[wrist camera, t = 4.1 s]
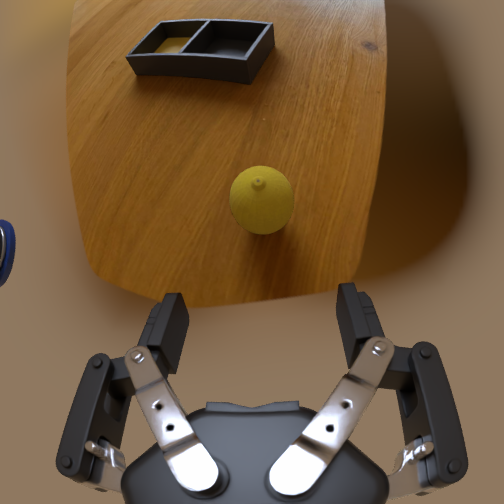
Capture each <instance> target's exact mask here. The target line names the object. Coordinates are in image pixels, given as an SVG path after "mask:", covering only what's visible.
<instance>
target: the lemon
mask: <svg viewBox="0 0 504 504" xmlns="http://www.w3.org/2000/svg"><path fill="white" fill-rule="evenodd" d="M229 200H230V208H231V212H232V215H233V216H234V218H235V220H236V221H237V223H238V224H239V225H241V226H242V227H243V228H244V229H246V230H247V231H249V232H251V233H255V234H270V233H274V232H276V231H278V230H280V229H281V228H282V227H283V226H284V225H286V223H287V222H288V220H289V219H290V217H291V215H292V212H293V209H294V195H293V191H292V187H291V186H290V184H289V182H288V180H287V179H286V178H285V177H284V176H283V174H282V173H280V172H279V171H277V170H275V169H274V168H271V167H268V166H255V167H251V168H249V169H246V170H245V171H243V172H242V173H240V174H239V176H238V177H237V178H236V179H235V181H234V182H233V184H232V187H231V190H230V195H229Z"/></svg>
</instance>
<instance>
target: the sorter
mask: <svg viewBox="0 0 504 504" xmlns="http://www.w3.org/2000/svg"><path fill="white" fill-rule="evenodd" d="M274 45H275V41H274V28H273V23H270V22H260V21H249V20H233V19H185V20H169V21H160V22H159V23H158V24H157V25H156V26H155V27H154V28H152V29H151V30H150V31H149V32H148V33H147V34H146V35H145V36H144V37H143V38H142V40H141V41H140V42H139V43H138V44H137V45H136V46H135V47H134V48H133V49H132V50H131V51H130V52H129V53H128V55H127V56H126V59H127V61H128V62H129V64H130V66H131V67H132V69H133V71H134V72H135V74H136V75H165V76H183V77H196V78H206V79H215V80H223V81H231V82H237V83H244V84H251V83H252V81H253V79H254V78H255V76H256V74H257V73H258V71H259V69H260V68H261V66H262V64H263V63H264V61H265V60H266V58H267V56H268V55H269V53H270V52H271V50H272V48H273V47H274Z"/></svg>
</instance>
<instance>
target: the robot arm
mask: <svg viewBox="0 0 504 504" xmlns="http://www.w3.org/2000/svg"><path fill="white" fill-rule="evenodd" d="M5 253H6V234H5V231H4V229H3V228H2V227H1V226H0V270H1V268H2V265H3V262H4V258H5ZM336 315H337V320H338V324H339V329H340V333H341V337H342V342H343V346H344V351H345V355H346V360H347V365H348V369H350V370H349V372H348V373H347V374H345V375H344V376H343V377H342V379H341V380H340V382H339V383H338V385H337V386H336V388H335V389H334V391H333V392H332V394H331V395H330V396H329V398H328V399H327V401H326V402H325V403H324V405H323V406H322V408H321V409H320V410H319V412H316V411H314V410H311V409H309V408H305V407H300V406H299V401H288V402H274V403H271V404H266V405H262V406H258V407H254V408H249V407H245V406H240V405H236V404H232V403H226V402H207V403H206V408H202V409H199V410H196V411H194V412H192V413H190V414H189V415H188V414H187V412H186V411H185V409H184V408H183V406H182V404H181V403H180V401H179V399H178V398H177V396H176V394H175V393H174V391H173V389H172V387H171V386H170V384H169V382H168V380H167V377H168V374H176V372H177V368H178V364H179V360H180V356H181V352H182V348H183V345H184V341H185V337H186V333H187V329H188V326H189V314H188V311H187V308H186V305H185V302H184V300H183V297H182V294H181V293H166V294H165V296H164V299H163V301H162V303H157V304H156V305H155V306H154V308H153V309H152V310H151V312H150V315H149V318H148V320H147V322H146V325H145V327H144V329H143V332H142V335H141V337H140V339H139V342H138V345H137V346H135V347H133V348H131V349H130V350H128V351H127V353H126V354H125V356H124V357H120V358H115V359H110V358H109V357H108V356H107V355H106V354H103V353H99V354H96V355H94V356H93V357H91V358H90V359H89V361H88V363H87V366H86V368H85V371H84V373H83V376H82V378H81V381H80V384H79V386H78V389H77V392H76V395H75V397H74V400H73V403H72V406H71V409H70V412H69V415H68V418H67V422H66V425H65V428H64V431H63V435H62V438H61V442H60V445H59V449H58V453H57V457H56V467H57V469H58V471H59V472H60V473H61V474H62V475H64V476H66V477H68V478H70V479H72V480H73V481H75V482H77V483H79V484H82V485H84V486H86V487H89V488H92V489H95V490H98V491H101V492H106V491H112V492H115V493H119V494H122V495H123V498H124V501H125V504H385V503H386V501H388V500H393V499H398V498H401V497H405V496H409V495H413V494H415V495H419V496H422V495H426V494H429V493H432V492H434V491H437V490H439V489H441V488H444V487H446V486H449V485H451V484H453V483H455V482H457V481H459V480H460V479H461V478H463V477H464V475H465V474H466V472H467V469H468V457H467V452H466V447H465V442H464V437H463V433H462V428H461V424H460V420H459V416H458V412H457V409H456V405H455V402H454V398H453V395H452V391H451V389H450V385H449V382H448V379H447V375H446V373H445V370H444V367H443V364H442V361H441V358H440V355H439V353H438V350H437V348H436V347H435V346H434V345H433V344H431V343H429V342H418V343H416V344H415V345H414V346H413V348H405V347H398V346H395V345H393V343H392V342H391V341H390V340H389V339H388V338H386V337H385V335H384V332H383V330H382V327H381V324H380V322H379V319H378V316H377V314H376V311H375V308H374V305H373V303H372V301H371V298H370V297H369V296H368V295H367V294H366V293H365V292H357V290H356V287H355V284H354V283H353V282H352V283H341V284H339V285H338V294H337V303H336ZM378 388H384V389H394V390H396V394H397V399H398V404H399V410H400V415H401V420H402V427H403V433H404V440H405V447H404V448H403V449H402V450H401V451H400V452H399V453H398V454H397V456H396V458H395V466H394V469H393V471H392V473H391V474H390V475H388V476H387V475H386V473H385V472H384V471H383V470H382V469H381V468H380V467H379V466H378V465H377V464H376V463H374V462H373V461H372V460H371V459H370V458H369V457H367V456H366V455H365V454H364V453H363V452H361V450H359V449H358V448H357V447H356V446H355V445H354V444H353V443H352V442H350V441H349V440H348V438H349V437H350V435H351V434H352V432H353V430H354V429H355V427H356V426H357V424H358V422H359V421H360V419H361V417H362V416H363V414H364V412H365V410H366V409H367V407H368V405H369V403H370V402H371V400H372V398H373V396H374V394H375V392H376V391H377V389H378ZM133 395H135V396H136V398H137V401H138V403H139V405H140V407H141V410H142V412H143V414H144V416H145V418H146V420H147V422H148V424H149V427H150V428H151V431H152V433H153V434H154V436H155V438H156V440H157V442H156V443H155V444H154V445H153V446H152V447H150V448H149V449H148V450H147V451H146V452H145V453H143V454H142V455H141V456H140V457H138V458H137V459H136V460H135V461H134V462H132V463H131V464H130V465H129V466H128V467H127V468H125V458H124V455H123V453H122V452H121V451H120V445H121V441H122V436H123V431H124V427H125V422H126V418H127V414H128V410H129V406H130V401H131V397H132V396H133Z"/></svg>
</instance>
